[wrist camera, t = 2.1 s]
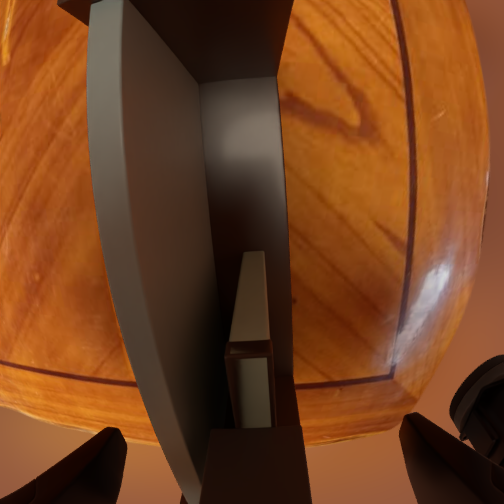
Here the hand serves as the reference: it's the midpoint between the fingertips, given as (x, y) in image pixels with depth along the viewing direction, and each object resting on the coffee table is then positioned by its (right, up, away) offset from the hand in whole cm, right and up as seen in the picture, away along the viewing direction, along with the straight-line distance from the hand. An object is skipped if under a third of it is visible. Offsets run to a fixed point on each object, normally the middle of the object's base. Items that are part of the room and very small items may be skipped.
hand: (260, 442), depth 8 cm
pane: (0, +2, +8) cm, 8 cm away
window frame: (-1, +6, +8) cm, 11 cm away
